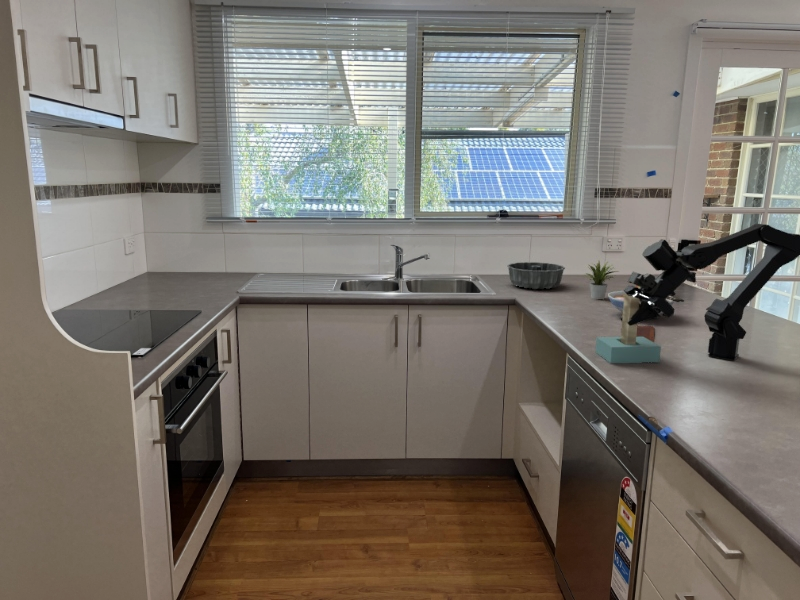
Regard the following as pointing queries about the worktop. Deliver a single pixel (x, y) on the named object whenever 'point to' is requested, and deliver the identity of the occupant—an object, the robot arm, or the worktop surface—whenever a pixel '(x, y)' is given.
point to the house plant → (599, 281)
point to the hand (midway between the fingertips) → (624, 322)
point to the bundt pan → (535, 274)
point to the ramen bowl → (618, 296)
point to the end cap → (627, 350)
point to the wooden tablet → (645, 332)
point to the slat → (628, 311)
